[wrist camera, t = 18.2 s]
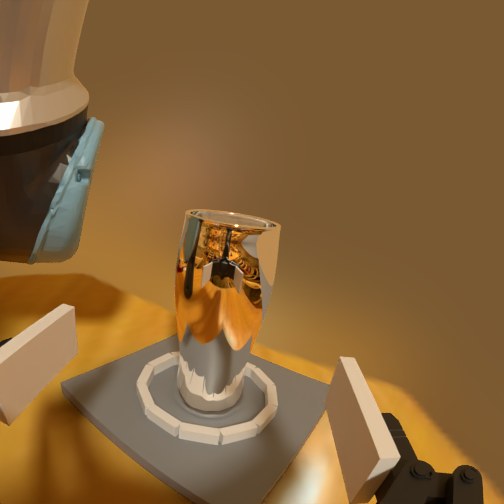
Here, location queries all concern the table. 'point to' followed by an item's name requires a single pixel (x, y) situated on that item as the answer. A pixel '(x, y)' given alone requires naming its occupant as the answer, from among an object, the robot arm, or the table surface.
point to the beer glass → (220, 305)
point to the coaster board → (201, 424)
